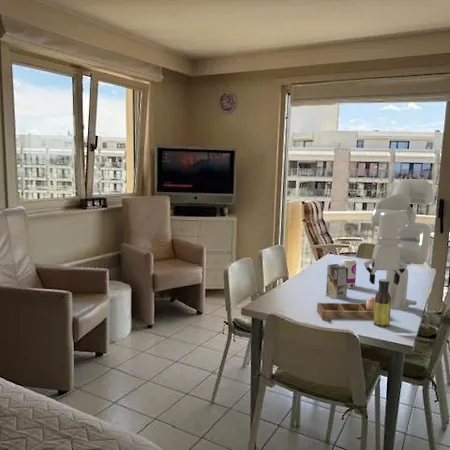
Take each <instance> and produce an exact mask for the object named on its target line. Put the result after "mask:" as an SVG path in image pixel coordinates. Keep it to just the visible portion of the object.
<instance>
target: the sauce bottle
mask: <svg viewBox="0 0 450 450" xmlns="http://www.w3.org/2000/svg"><path fill="white" fill-rule="evenodd" d="M388 288H389V280H386V278H385V279H382V278H380V279H378V291H377V292H376V293H375V307H374V319H373V324H374V326H376V327H378V328H388V327H389V326H390V323H391V322H390V320H391V310H392V309H391V297H390V294H389V292H388V291H389V290H388Z"/></svg>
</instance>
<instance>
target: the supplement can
mask: <svg viewBox="0 0 450 450" xmlns="http://www.w3.org/2000/svg"><path fill="white" fill-rule="evenodd" d="M356 261H357V260H356V259H354V258H347V257H346V258H342V260H341V261H340V265H341V266H344V267H347V268H348V279H347V289H354V287H356V277H357V265H358V264H357V262H356Z"/></svg>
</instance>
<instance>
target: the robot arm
mask: <svg viewBox="0 0 450 450" xmlns="http://www.w3.org/2000/svg"><path fill="white" fill-rule="evenodd" d="M433 199H434V190H433V187H432V185H431V184H430V182H429V181H427V180H424V179H410V178H409V179H406V178H405V179H401V180H399V181H397V182H396V185H395V187H394V189H393V192H392V193H391V195H389V196H387V197H385V198H383V199H381V200H380V201H378V202H377V203H376V204H375V206H374V208H373V210H372V213H371V216H370V217H371V219H370V220H371V221H370V222H371V223H372V225H373V226H374V227H378V230H377V231H378V232H377V243H376V244H375V245H374V248H373V251H372V255H371V256H372V257H371V259H369V260H367V261H365V262H364V263H363V264H364V267H365V269H366V271H367V272H368V273H369V278H368V279H369V282H370V284H372V285H375V282H376V272H377V271H385V272H386V274H385V280H389V288H388V290H389V291H388V292H389V294H390V297H391V310H392V311H406V310H409V309H410V305H411V306H417V300H412V299H407V295H408V294H407V293H408V284H409V283H408V281H409V270H408V268H407V267H408V264H411V265H412V264H413V265H424V264H425V263H426V261H427V258H428V254H429V247H430V241H431V233H432V232H431V227H430V225H428V224H427V223H425V222H416V219H417V214H416V212H415V210H414V209H413V208H412V207H411V206H410V205H411V204H414V205H416V204H417V205H429V204H431V203H432V202H433ZM370 265H371V268H370Z"/></svg>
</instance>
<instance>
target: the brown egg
mask: <svg viewBox="0 0 450 450" xmlns="http://www.w3.org/2000/svg"><path fill="white" fill-rule="evenodd" d="M365 301H366V302H365V303H366V311H374V307H375V297H373V296H370V297H369V298H367V299H366V300H365Z"/></svg>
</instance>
